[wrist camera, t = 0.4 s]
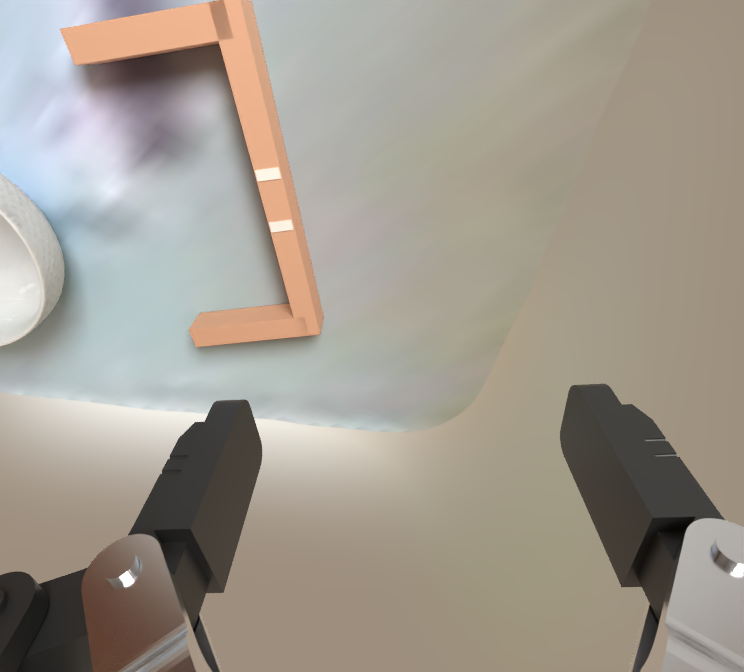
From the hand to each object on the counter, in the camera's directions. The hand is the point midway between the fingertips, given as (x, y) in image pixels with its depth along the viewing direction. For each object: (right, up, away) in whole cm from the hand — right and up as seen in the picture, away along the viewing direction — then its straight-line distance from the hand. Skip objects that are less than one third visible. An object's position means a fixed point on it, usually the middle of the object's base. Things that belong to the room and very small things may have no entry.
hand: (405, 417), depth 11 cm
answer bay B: (-13, +14, +26) cm, 32 cm away
